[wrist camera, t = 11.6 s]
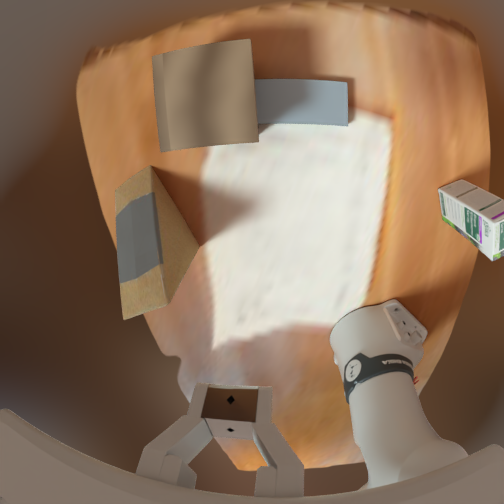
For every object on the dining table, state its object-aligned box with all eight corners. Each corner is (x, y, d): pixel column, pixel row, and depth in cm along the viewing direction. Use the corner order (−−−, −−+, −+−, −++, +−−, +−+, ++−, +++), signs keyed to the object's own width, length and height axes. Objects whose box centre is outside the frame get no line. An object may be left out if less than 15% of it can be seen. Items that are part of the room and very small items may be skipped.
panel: (343, 84, 29) (347, 82, 27) (343, 125, 32) (347, 126, 30) (195, 87, 31) (190, 85, 29) (197, 127, 34) (192, 128, 32)
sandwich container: (151, 162, 37) (92, 189, 23) (202, 245, 42) (170, 305, 29) (113, 189, 39) (54, 225, 26) (161, 264, 45) (123, 322, 32)
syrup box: (436, 187, 34) (492, 224, 21) (462, 177, 32) (520, 209, 19) (441, 219, 36) (491, 263, 23) (466, 208, 34) (518, 247, 22)
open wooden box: (257, 59, 29) (250, 38, 20) (263, 136, 34) (258, 142, 25) (183, 69, 30) (152, 56, 21) (189, 142, 35) (160, 152, 26)
